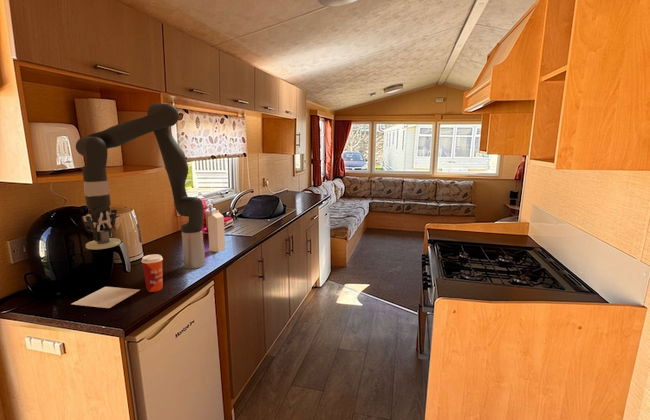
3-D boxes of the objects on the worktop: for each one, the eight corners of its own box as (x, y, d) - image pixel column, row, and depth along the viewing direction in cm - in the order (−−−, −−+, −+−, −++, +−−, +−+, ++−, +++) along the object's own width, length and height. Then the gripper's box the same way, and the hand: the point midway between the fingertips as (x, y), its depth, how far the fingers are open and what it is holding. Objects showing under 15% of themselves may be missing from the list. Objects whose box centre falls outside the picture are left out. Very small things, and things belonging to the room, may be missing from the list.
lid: (102, 240, 136) (100, 227, 135) (127, 241, 134) (126, 228, 133) (78, 248, 125) (76, 235, 125) (105, 250, 124) (103, 236, 123)
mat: (105, 287, 142) (105, 286, 142) (140, 291, 140) (140, 289, 139) (70, 305, 127) (70, 304, 127) (109, 309, 124) (109, 308, 124)
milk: (225, 249, 195) (223, 210, 190) (218, 252, 189) (216, 212, 185) (216, 248, 197) (214, 209, 193) (209, 251, 191) (207, 211, 187)
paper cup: (156, 295, 136) (152, 260, 133) (139, 293, 138) (136, 258, 135) (169, 287, 143) (167, 254, 141) (154, 285, 145) (151, 252, 143)
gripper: (104, 190, 134) (109, 234, 137) (70, 196, 120) (77, 244, 123) (121, 191, 132) (126, 235, 136) (89, 196, 119) (96, 245, 122)
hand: (103, 239), depth 129 cm, fingers closed on lid, 4 cm apart
